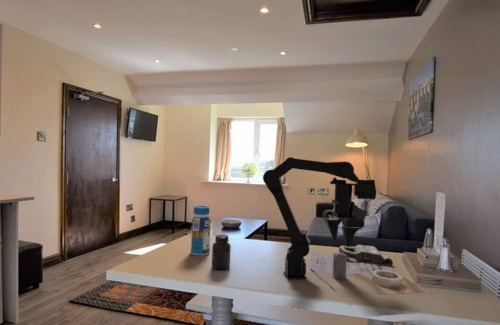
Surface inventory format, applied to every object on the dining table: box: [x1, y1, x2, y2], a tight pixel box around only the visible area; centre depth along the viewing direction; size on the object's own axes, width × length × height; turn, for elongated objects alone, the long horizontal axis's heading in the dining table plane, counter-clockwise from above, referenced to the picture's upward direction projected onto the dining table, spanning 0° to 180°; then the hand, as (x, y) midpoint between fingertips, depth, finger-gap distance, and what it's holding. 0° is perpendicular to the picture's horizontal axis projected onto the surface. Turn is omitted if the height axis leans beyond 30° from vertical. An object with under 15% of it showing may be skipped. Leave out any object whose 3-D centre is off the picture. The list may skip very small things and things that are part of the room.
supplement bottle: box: [211, 234, 232, 272], centre depth 116 cm, size 7×7×12 cm
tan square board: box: [348, 272, 431, 296], centre depth 103 cm, size 18×18×1 cm
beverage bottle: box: [190, 205, 212, 256], centre depth 134 cm, size 8×8×20 cm
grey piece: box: [338, 244, 394, 267], centre depth 131 cm, size 16×20×5 cm
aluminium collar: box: [371, 269, 403, 288], centre depth 103 cm, size 9×9×2 cm
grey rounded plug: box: [332, 252, 348, 281], centre depth 106 cm, size 4×4×9 cm
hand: (340, 243), depth 107 cm, fingers open, 9 cm apart
